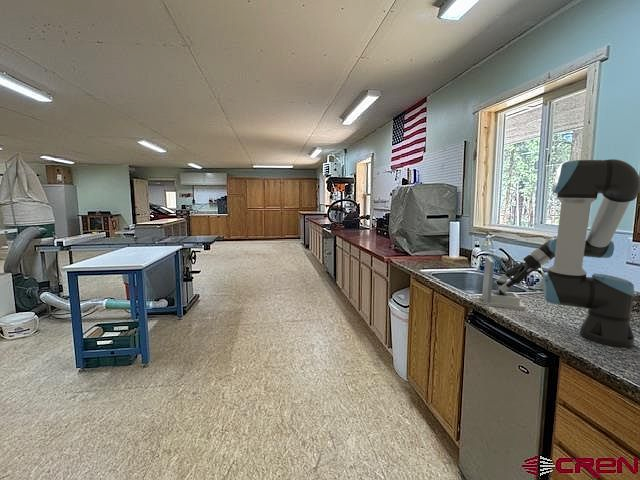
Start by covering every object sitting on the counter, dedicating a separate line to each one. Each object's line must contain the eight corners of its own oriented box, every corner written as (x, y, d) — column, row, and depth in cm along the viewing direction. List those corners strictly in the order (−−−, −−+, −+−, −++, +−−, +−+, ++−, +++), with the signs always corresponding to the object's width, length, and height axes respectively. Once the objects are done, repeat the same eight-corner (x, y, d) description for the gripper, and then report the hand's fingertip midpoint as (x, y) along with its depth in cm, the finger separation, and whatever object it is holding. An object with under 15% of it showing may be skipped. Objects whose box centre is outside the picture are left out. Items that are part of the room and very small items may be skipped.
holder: (524, 309, 153) (529, 264, 151) (486, 305, 158) (490, 261, 156) (516, 299, 170) (520, 258, 168) (482, 296, 175) (485, 256, 173)
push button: (509, 299, 165) (511, 279, 164) (510, 302, 160) (512, 282, 159) (494, 297, 168) (496, 278, 167) (494, 299, 163) (496, 280, 162)
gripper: (550, 270, 145) (508, 299, 152) (534, 261, 169) (499, 287, 175) (537, 257, 146) (497, 286, 153) (523, 250, 170) (489, 276, 176)
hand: (498, 287), depth 164 cm, fingers open, 13 cm apart
